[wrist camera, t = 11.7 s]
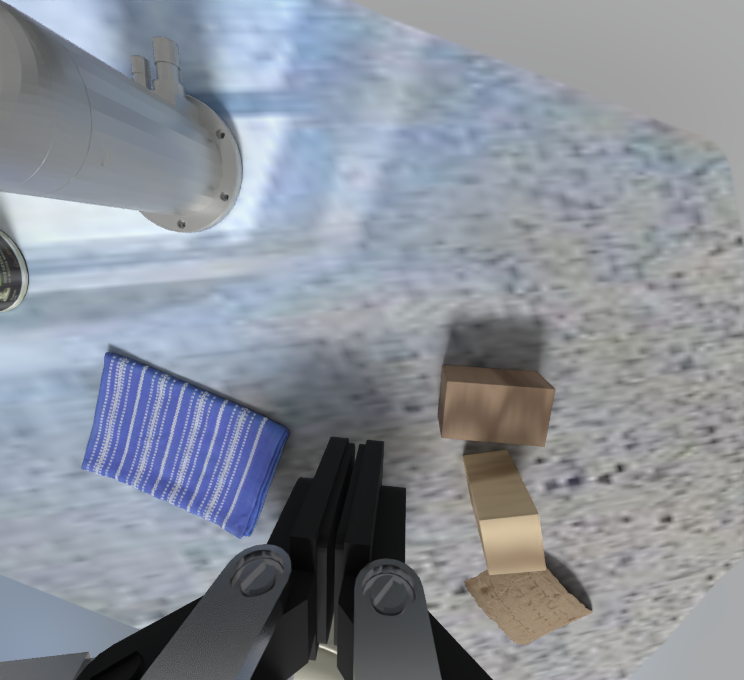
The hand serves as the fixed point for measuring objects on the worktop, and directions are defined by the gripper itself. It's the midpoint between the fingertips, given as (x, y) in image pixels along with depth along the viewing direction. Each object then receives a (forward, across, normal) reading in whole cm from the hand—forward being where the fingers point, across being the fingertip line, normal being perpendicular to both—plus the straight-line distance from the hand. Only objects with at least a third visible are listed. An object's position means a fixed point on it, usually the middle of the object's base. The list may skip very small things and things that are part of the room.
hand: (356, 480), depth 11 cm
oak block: (+27, -12, +18) cm, 35 cm away
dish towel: (+28, +25, +18) cm, 42 cm away
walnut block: (+25, -16, +8) cm, 30 cm away
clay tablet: (+28, -19, +35) cm, 49 cm away
